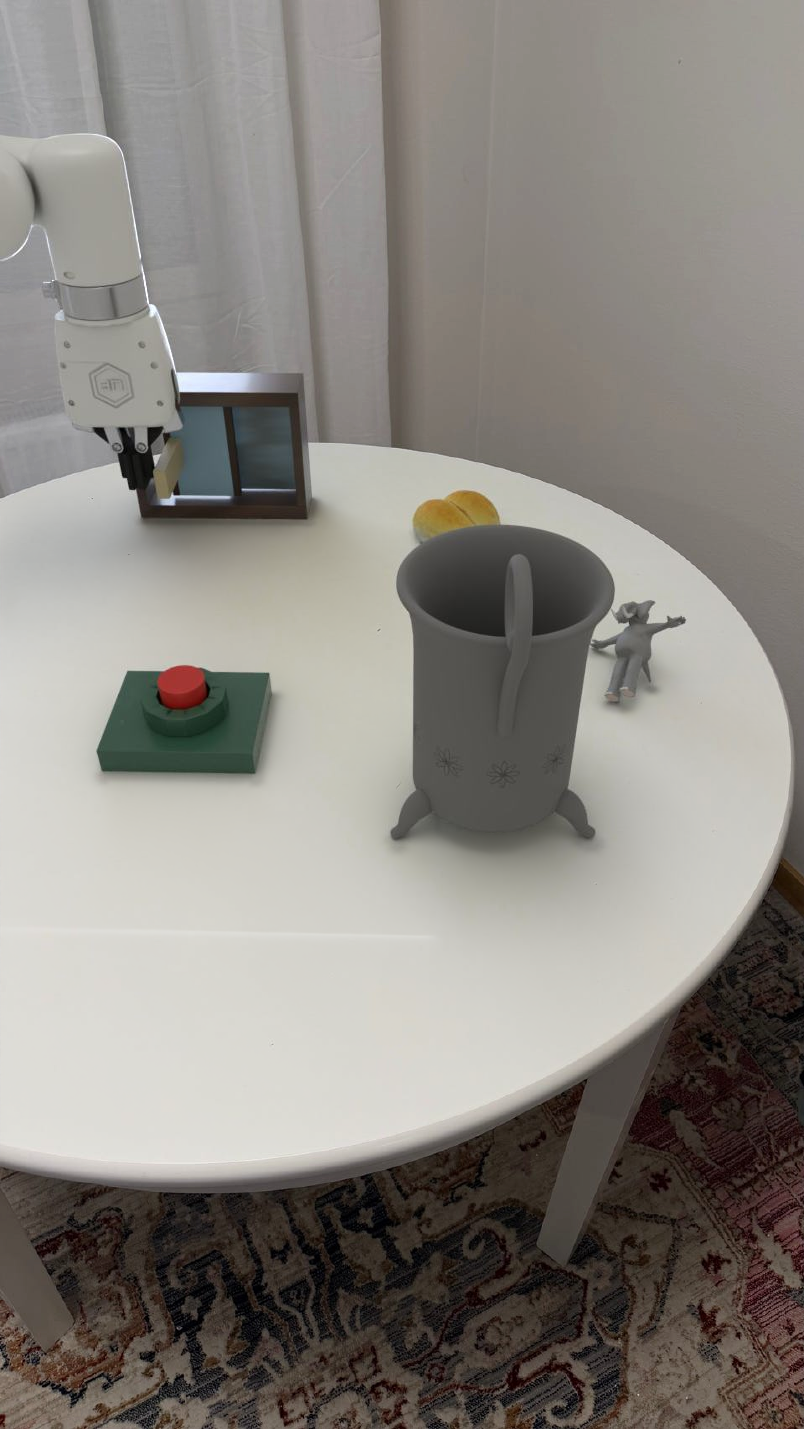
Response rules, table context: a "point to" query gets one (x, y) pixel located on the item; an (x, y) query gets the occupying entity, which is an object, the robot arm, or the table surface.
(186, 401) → the window frame
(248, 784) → the table surface
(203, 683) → the button
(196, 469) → the window pane
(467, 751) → the mug
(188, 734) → the button box
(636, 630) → the elephant figurine
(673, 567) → the table surface
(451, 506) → the bread roll
